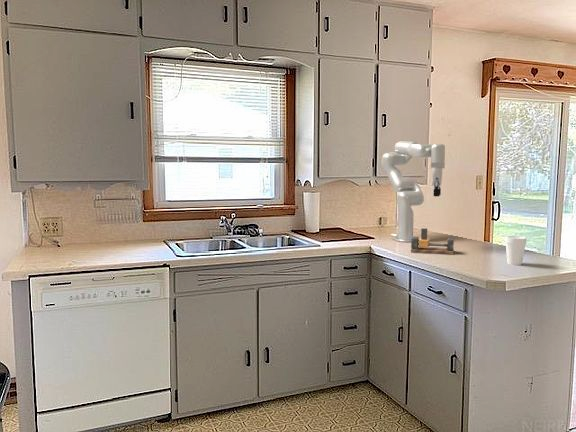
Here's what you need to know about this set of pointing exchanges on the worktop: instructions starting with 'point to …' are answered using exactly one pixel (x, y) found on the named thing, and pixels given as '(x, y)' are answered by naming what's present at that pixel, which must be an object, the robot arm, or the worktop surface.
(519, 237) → the foam cup
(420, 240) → the carriage
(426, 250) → the rail board
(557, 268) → the worktop surface
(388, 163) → the robot arm
